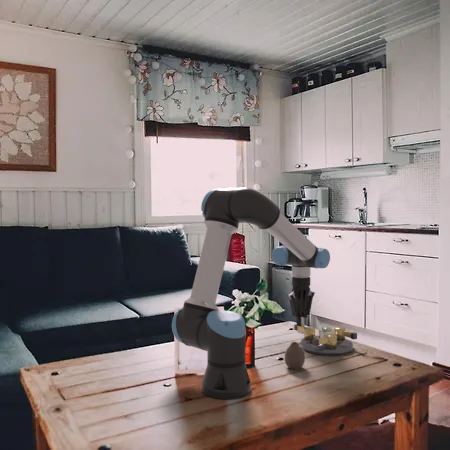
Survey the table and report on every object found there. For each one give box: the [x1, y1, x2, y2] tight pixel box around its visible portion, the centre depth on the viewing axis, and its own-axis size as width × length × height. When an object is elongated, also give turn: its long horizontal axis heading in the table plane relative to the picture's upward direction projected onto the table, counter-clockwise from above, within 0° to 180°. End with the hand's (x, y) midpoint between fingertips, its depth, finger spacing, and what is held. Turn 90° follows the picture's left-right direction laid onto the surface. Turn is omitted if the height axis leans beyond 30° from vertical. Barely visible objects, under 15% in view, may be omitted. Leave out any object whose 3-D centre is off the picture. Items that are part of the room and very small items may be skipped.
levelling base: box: [300, 326, 354, 357], centre depth 186 cm, size 20×20×8 cm
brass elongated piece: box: [333, 326, 358, 341], centre depth 187 cm, size 11×4×4 cm, turn 31°
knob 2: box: [312, 334, 337, 349], centre depth 178 cm, size 11×4×4 cm, turn 121°
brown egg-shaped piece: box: [284, 341, 306, 371], centre depth 164 cm, size 7×7×9 cm
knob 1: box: [293, 323, 316, 341], centre depth 192 cm, size 11×4×4 cm, turn 32°
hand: (301, 332), depth 196 cm, fingers closed
